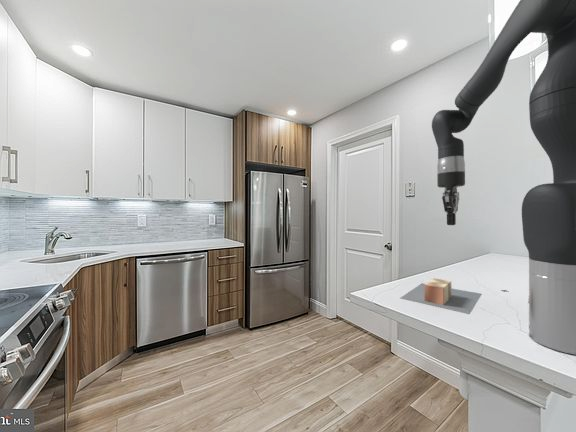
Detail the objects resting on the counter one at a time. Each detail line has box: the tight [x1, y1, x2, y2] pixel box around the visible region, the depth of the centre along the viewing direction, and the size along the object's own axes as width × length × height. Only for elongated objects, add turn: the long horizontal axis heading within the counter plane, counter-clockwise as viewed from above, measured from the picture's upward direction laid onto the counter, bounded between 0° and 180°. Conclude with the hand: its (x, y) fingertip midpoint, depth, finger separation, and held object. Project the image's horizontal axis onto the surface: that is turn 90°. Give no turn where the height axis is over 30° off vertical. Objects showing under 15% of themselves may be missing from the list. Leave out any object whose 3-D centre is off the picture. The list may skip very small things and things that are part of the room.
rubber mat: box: [399, 283, 482, 315], centre depth 79 cm, size 18×22×1 cm
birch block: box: [424, 277, 452, 305], centre depth 76 cm, size 5×5×10 cm
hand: (451, 225), depth 80 cm, fingers closed
